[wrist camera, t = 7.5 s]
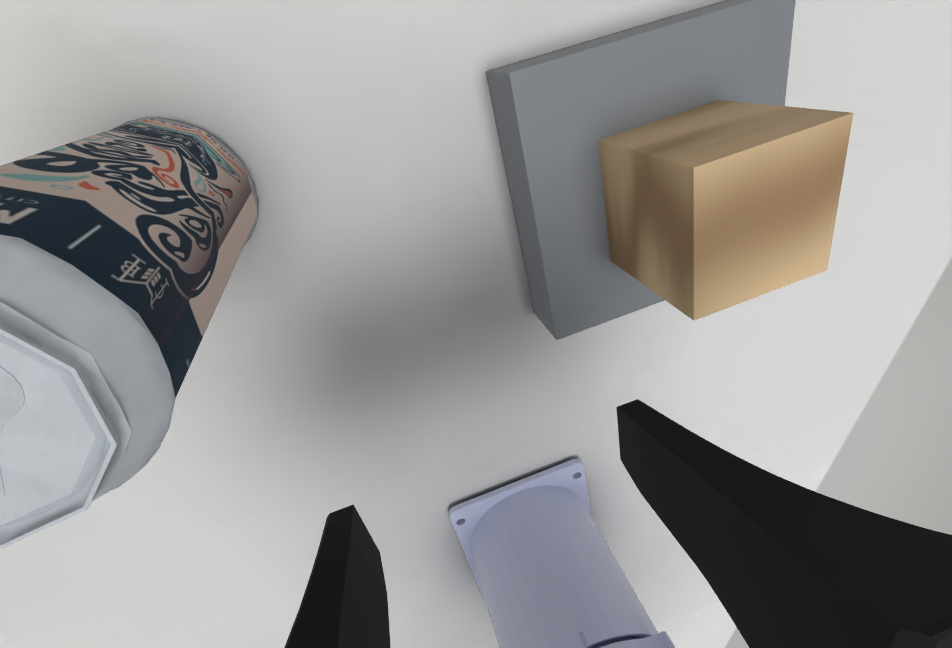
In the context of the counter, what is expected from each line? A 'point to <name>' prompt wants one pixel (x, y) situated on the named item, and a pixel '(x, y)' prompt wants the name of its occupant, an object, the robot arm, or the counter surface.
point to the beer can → (106, 305)
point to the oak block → (724, 200)
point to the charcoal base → (610, 112)
